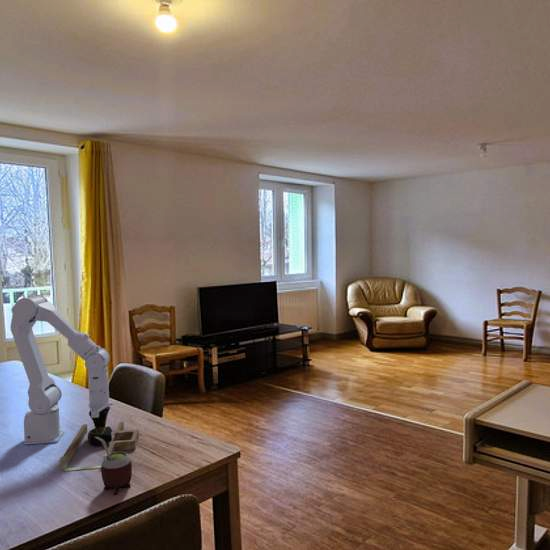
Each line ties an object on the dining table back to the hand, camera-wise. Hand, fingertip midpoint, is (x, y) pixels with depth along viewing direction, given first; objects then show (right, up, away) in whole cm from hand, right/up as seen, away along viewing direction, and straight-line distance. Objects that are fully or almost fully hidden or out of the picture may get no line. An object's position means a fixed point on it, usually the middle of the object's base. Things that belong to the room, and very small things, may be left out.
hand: (100, 432), depth 144 cm
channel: (+4, -2, -8) cm, 9 cm away
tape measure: (+2, -2, -4) cm, 5 cm away
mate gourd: (+15, -4, -31) cm, 35 cm away
